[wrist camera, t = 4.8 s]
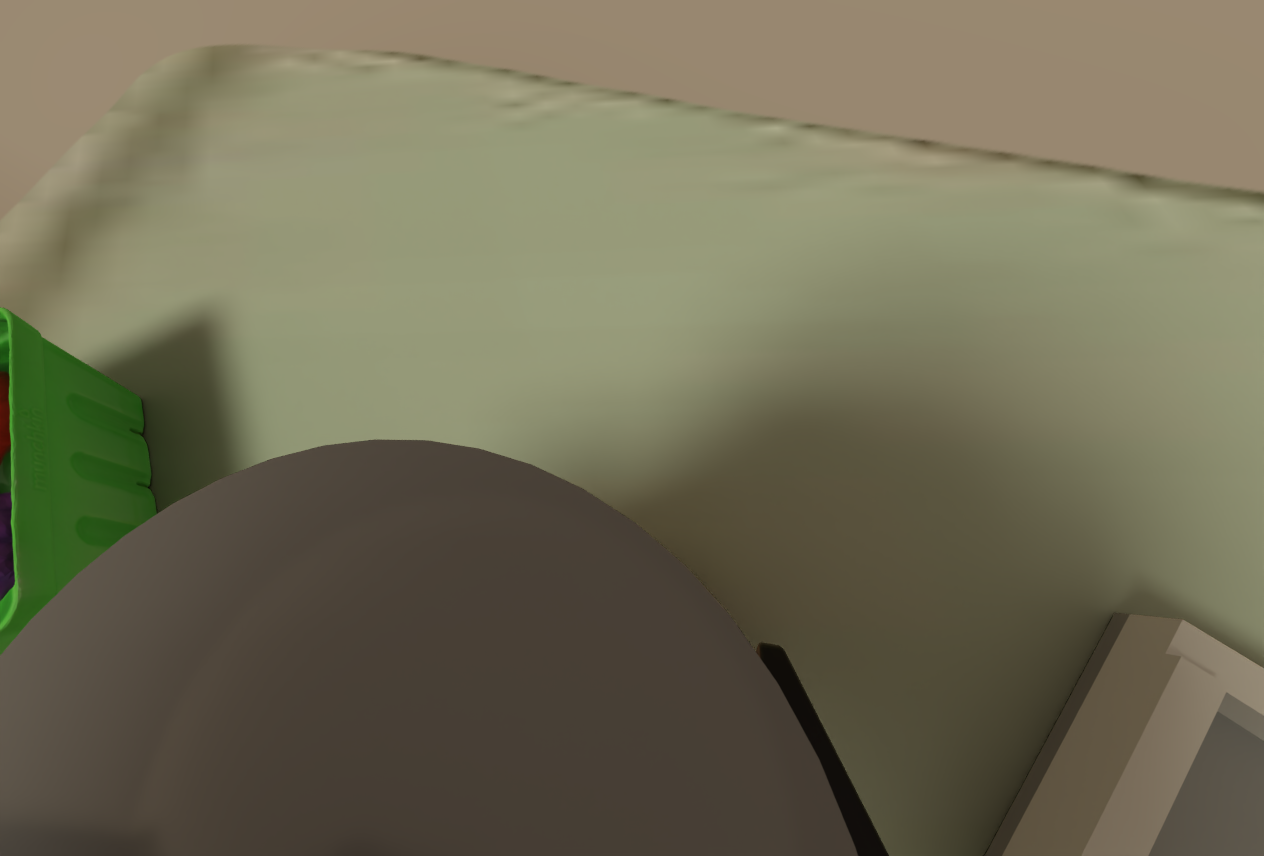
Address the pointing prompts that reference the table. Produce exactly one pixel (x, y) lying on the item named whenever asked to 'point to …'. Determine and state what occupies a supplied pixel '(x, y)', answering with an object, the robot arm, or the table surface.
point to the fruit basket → (61, 470)
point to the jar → (398, 680)
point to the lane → (1149, 753)
